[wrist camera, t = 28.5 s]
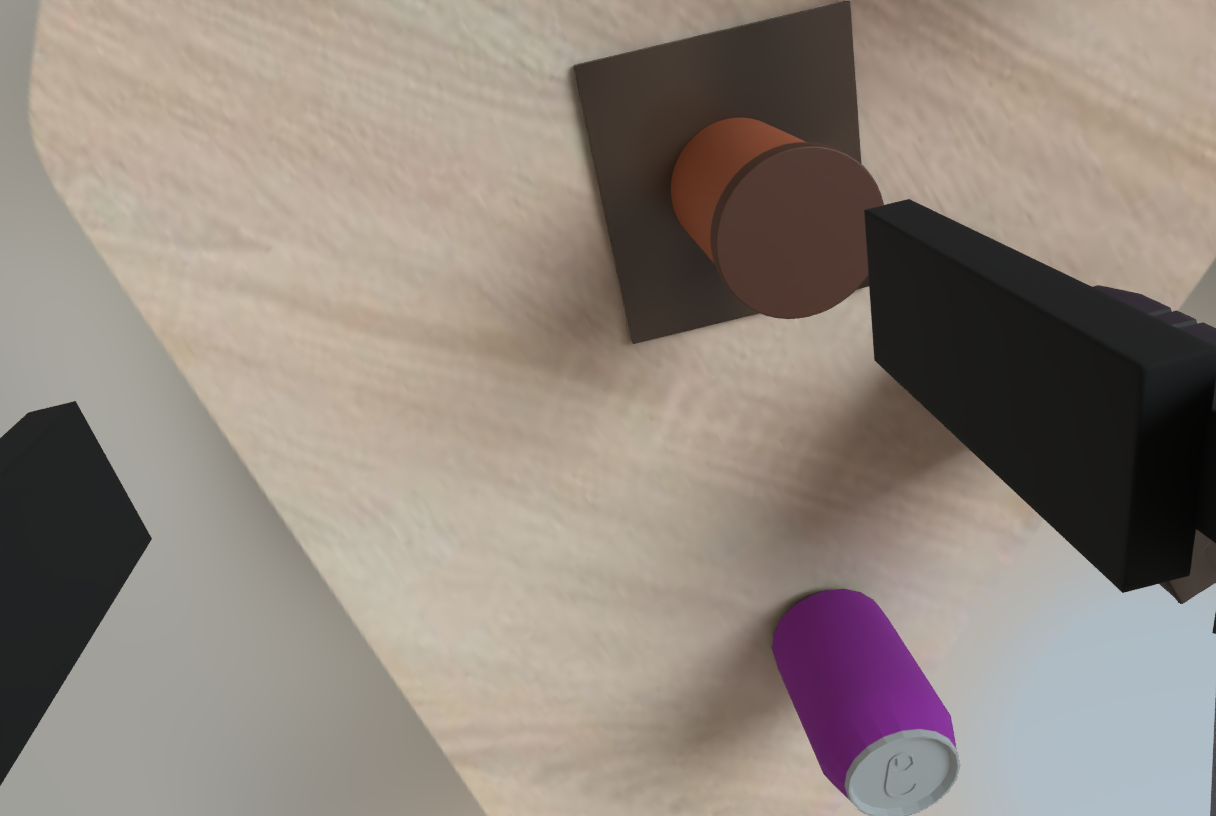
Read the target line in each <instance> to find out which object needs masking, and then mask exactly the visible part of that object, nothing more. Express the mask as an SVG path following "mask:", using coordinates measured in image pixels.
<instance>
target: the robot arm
mask: <svg viewBox="0 0 1216 816" xmlns="http://www.w3.org/2000/svg"><path fill="white" fill-rule="evenodd" d="M864 215H865V230H866V244H867V258H868V273H869V287H870V302H871V316H872V330H873V345H874V359H875V361H876V362H877V363H878V364H879V365H880V366H881V367H882V368H883V369H884V370H885V371H886V372H888V373H889V374H890V375H891V376H892V377H893V378H894V379H895V380H896V381H897V382H898V383H899V384H900V385H901V386H902V387H904V388H905V389H906V390H907V391H908V392H909V393H910V394H911V395H912V396H913V397H914V398H915V399H916V400H917V401H918V402H920V403H921V404H922V405H923V406H924V407H925V408H926V409H927V410H928V411H929V412H930V413H931V414H932V415H933V416H935V417H936V418H937V419H938V420H939V421H940V422H941V423H942V424H943V425H944V426H945V427H946V428H947V429H948V430H949V431H951V432H952V433H953V434H954V435H955V436H956V437H957V438H958V439H959V440H960V441H961V442H962V443H963V444H964V445H965V446H967V447H968V448H969V449H970V450H971V451H972V452H973V453H974V454H975V455H976V456H977V457H978V458H979V459H980V460H981V461H983V462H984V463H985V464H986V465H987V466H988V467H989V468H990V469H991V470H992V471H993V472H994V473H995V474H996V475H998V476H999V477H1000V478H1001V479H1002V480H1003V481H1004V482H1005V483H1006V484H1007V485H1008V486H1009V487H1010V488H1011V489H1012V490H1014V491H1015V492H1016V493H1017V494H1018V495H1019V496H1020V497H1021V498H1022V499H1023V500H1024V501H1025V502H1026V503H1027V504H1028V505H1030V506H1031V507H1032V508H1033V509H1034V510H1035V511H1036V512H1037V513H1038V514H1039V515H1040V516H1041V517H1042V518H1043V519H1044V520H1046V521H1047V522H1048V523H1049V524H1050V525H1051V526H1052V527H1053V528H1054V529H1055V530H1056V531H1057V532H1059V534H1061V535H1062V536H1063V537H1064V538H1065V539H1066V540H1067V541H1068V542H1069V543H1070V544H1071V545H1072V546H1073V547H1074V548H1076V549H1077V550H1078V551H1079V552H1080V553H1081V554H1082V555H1083V556H1084V557H1085V558H1086V559H1087V560H1088V561H1089V562H1090V563H1091V564H1093V565H1094V566H1095V567H1096V568H1097V569H1098V570H1099V571H1100V572H1101V573H1102V574H1103V575H1104V576H1105V577H1106V578H1108V579H1109V580H1110V581H1111V582H1112V583H1113V584H1114V585H1115V586H1116V587H1117V588H1118V589H1119V590H1120V591H1121V592H1122V593H1124V592H1128V591H1132V590H1135V589H1140V588H1143V587H1147V586H1151V585H1155V584H1159V583H1163V582H1167V581H1171V580H1175V579H1179V578H1183V577H1187V576H1190V570H1191V563H1192V555H1193V548H1194V540H1195V533H1196V529H1197V530H1198V531H1200V532H1201V533H1202V534H1204V535H1205V536H1206V537H1208V538H1209V539H1210V540H1212V541H1213V542H1214V543H1216V328H1214V327H1212V326H1209V325H1207V324H1205V323H1199V324H1197V322H1196V319H1194V318H1192V317H1190V316H1188V315H1185V314H1183V313H1181V312H1179V311H1173V312H1172V311H1171V308H1170V307H1168V306H1166V305H1163V304H1161V303H1159V302H1157V301H1155V300H1152V299H1150V298H1148V297H1146V296H1144V295H1141V294H1138V293H1134V292H1129V291H1124V290H1119V289H1114V288H1109V287H1104V286H1099V285H1098V286H1094V287H1091V286H1089V285H1087V284H1085V283H1083V282H1081V281H1079V280H1076V279H1074V278H1072V277H1070V276H1068V275H1066V274H1064V273H1062V272H1060V271H1058V270H1056V269H1054V268H1051V267H1049V266H1047V265H1045V264H1043V263H1041V262H1039V261H1037V260H1035V259H1033V258H1031V257H1029V256H1026V255H1024V254H1022V253H1020V252H1018V251H1016V250H1014V249H1012V248H1010V247H1008V246H1006V245H1004V244H1001V243H999V242H997V241H995V240H993V239H991V238H989V237H987V236H985V235H983V234H981V233H979V232H976V231H974V230H972V229H970V228H968V227H966V226H964V225H962V224H960V223H958V222H956V221H954V220H951V219H949V218H947V217H945V216H943V215H941V214H939V213H937V212H935V211H933V210H931V209H929V208H926V207H924V206H922V205H920V204H918V203H916V202H914V201H912V200H910V199H908V200H903V201H899V202H895V203H891V204H887V205H883V206H879V207H875V208H870V209H866V210H864ZM151 539H152V538H151V536H150V535H149V533H148V531H147V529H146V528H145V526H144V524H143V522H142V520H141V518H140V517H139V515H138V513H137V511H136V510H135V508H134V506H133V504H132V502H131V501H130V499H129V497H128V495H127V493H126V491H125V490H124V488H123V486H122V484H121V482H120V480H119V479H118V477H117V475H116V473H115V471H114V470H113V468H112V466H111V464H110V463H109V461H108V459H107V457H106V455H105V453H104V452H103V450H102V448H101V446H100V444H99V443H98V441H97V439H96V437H95V435H94V434H93V432H92V430H91V428H90V426H89V425H88V423H87V421H86V419H85V417H84V416H83V414H82V412H81V410H80V408H79V407H78V405H77V403H76V401H74V402H70V403H66V404H62V405H58V406H54V407H49V408H46V409H41V410H37V411H33V412H29V413H27V414H26V415H25V416H24V417H23V418H22V419H21V420H20V421H19V422H18V423H16V424H15V425H14V426H13V427H12V428H11V429H10V430H9V431H8V432H7V433H5V434H4V435H3V436H2V437H1V438H0V785H1V784H2V782H3V781H4V778H5V777H6V776H7V774H8V772H9V771H10V769H11V767H12V766H13V764H14V763H15V761H16V759H17V758H18V756H19V754H20V753H21V751H22V750H23V748H24V746H25V745H26V743H27V741H28V740H29V738H30V736H31V735H32V733H33V732H34V730H35V728H36V727H37V725H38V723H39V722H40V720H41V718H42V717H43V715H44V714H45V712H46V710H47V709H48V707H49V706H50V704H51V702H52V701H53V699H54V697H55V696H56V694H57V693H58V691H59V689H60V688H61V686H62V684H63V683H64V681H65V680H66V678H67V676H68V674H69V673H70V671H71V670H72V668H73V666H74V665H75V663H76V661H77V660H78V658H79V657H80V655H81V653H82V652H83V650H84V649H85V647H86V645H87V644H88V642H89V640H90V639H91V637H92V635H93V634H94V632H95V631H96V629H97V627H98V626H99V624H100V622H101V621H102V619H103V618H104V616H105V614H106V612H107V611H108V609H109V608H110V606H111V604H112V603H113V601H114V599H115V598H116V596H117V595H118V593H119V592H120V590H121V588H122V587H123V585H124V583H125V582H126V580H127V579H128V577H129V575H130V574H131V572H132V570H133V569H134V567H135V565H136V564H137V562H138V561H139V559H140V557H141V556H142V554H143V552H144V551H145V549H146V548H147V546H148V544H149V543H150V541H151ZM1213 633H1215V634H1216V614H1215V620H1214V627H1213ZM1210 816H1216V701H1215V722H1214V744H1213V767H1212V790H1211V811H1210Z"/></svg>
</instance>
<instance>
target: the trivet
mask: <svg viewBox="0 0 1216 816" xmlns="http://www.w3.org/2000/svg"><path fill="white" fill-rule="evenodd" d="M574 70H575V75H576V79H577V84H578V89H579V94H580V98H581V103H582V108H583V113H584V117H585V122H586V127H587V132H588V136H589V141H590V146H591V151H592V155H593V160H594V165H595V170H596V174H597V179H598V184H599V189H600V193H601V198H602V203H603V208H604V212H605V217H606V222H607V227H608V231H609V236H610V241H611V246H612V250H613V255H614V260H615V265H616V269H617V274H618V279H619V284H620V288H621V293H622V298H623V303H624V307H625V312H626V317H627V322H628V326H629V331H630V336H631V341H632V343H633V344H635V343H639V342H643V341H647V340H651V339H655V338H659V337H664V336H668V335H672V334H676V333H680V332H684V331H688V330H692V329H696V328H700V327H704V326H709V325H713V324H717V323H721V322H725V321H729V320H733V319H737V318H741V317H745V316H749V315H754V314H758V312H756V311H754V310H752V309H751V308H749V307H747V306H746V305H745V304H743V303H742V302H741V301H740V300H739V299H738V298H737V297H736V296H735V295H734V294H733V293H732V292H731V291H730V290H729V288H728V287H727V286H726V284H725V283H724V282H723V280H722V279H721V277H720V275H719V273H718V271H717V269H716V266H715V264H714V263H713V262H712V261H711V259H710V258H709V257H708V256H707V255H706V254H705V252H704V251H703V250H702V249H701V248H700V247H699V245H698V244H697V243H696V242H695V241H694V240H693V238H692V237H691V236H690V235H689V234H688V233H687V231H686V230H685V229H684V228H683V226H682V225H681V224H680V222H679V220H678V218H677V216H676V214H675V211H674V208H673V204H672V199H671V180H672V174H673V170H674V167H675V164H676V162H677V159H678V157H679V155H680V154H681V152H682V150H683V149H684V147H685V146H686V145H687V143H688V142H689V141H690V140H691V139H692V138H693V137H694V136H695V135H696V134H697V133H699V132H700V131H701V130H703V129H704V128H706V127H707V126H709V125H711V124H713V123H715V122H718V121H721V120H724V119H729V118H741V117H743V118H751V119H755V120H759V121H761V122H764V123H766V124H768V125H770V126H773V127H775V128H777V129H779V130H781V131H784V132H786V133H788V134H790V135H792V136H795V137H797V138H799V139H801V140H803V141H806V142H810V143H819V144H822V145H826V146H830V147H832V148H834V149H836V150H839V151H841V152H843V153H846V154H848V155H849V156H851V157H852V158H854V159H856V160H857V161H858V162H859V163H860V164H861V153H860V139H859V124H858V110H857V95H856V81H855V67H854V52H853V38H852V23H851V9H850V1H843V2H839V3H835V4H830V5H826V6H822V7H818V8H813V9H809V10H805V11H801V12H797V13H792V14H788V15H784V16H780V17H775V18H771V19H767V20H763V21H758V22H754V23H750V24H746V25H741V26H737V27H733V28H729V29H725V30H720V31H716V32H712V33H708V34H703V35H699V36H695V37H691V38H686V39H682V40H678V41H674V42H669V43H665V44H661V45H657V46H653V47H648V48H644V49H640V50H636V51H631V52H627V53H623V54H619V55H614V56H610V57H606V58H602V59H597V60H593V61H589V62H585V63H580V64H576V65H574ZM868 286H869V274H868V276H867V277H866V279H865V280H864V281H863V282H862V284H861V285H860V286H859V287H858V288H857V289H860V288H864V287H868Z"/></svg>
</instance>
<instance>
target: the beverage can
mask: <svg viewBox="0 0 1216 816" xmlns="http://www.w3.org/2000/svg"><path fill="white" fill-rule="evenodd" d="M772 650H773V654H774V657H775V660H776V663H777V667H778V670H779V672H780V674H781V677H782V679H783V681H784V684H785V686H786V688H787V691H788V693H789V695H790V698H791V700H792V702H793V704H794V707H795V709H796V711H797V714H798V716H799V718H800V721H801V723H802V725H803V727H804V730H805V732H806V734H807V737H808V739H809V741H810V744H811V746H812V748H813V751H814V753H815V755H816V757H817V760H818V762H819V764H820V767H821V769H822V771H823V774H824V775H825V776H826V777H827V778H828V779H829V780H830V781H831V782H832V784H833V785H834V786H835V787H836V788H838V789H839V790H840V791H841V792H842V793H843V794H844V795H845V796H846V797H847V798H848V799H849V800H850V801H851V802H852V803H853V804H854V805H855V806H856V807H857V809H858V810H859V811H860V812H862V813H865V814H867V815H869V816H909V815H912V814H914V813H918V812H920V811H923V810H924V809H926V808H928V807H930V806H931V805H933V804H935V803H936V802H938V801H939V800H940V799H941V798H942V797H943V796H944V795H945V794H946V793H948V792H949V790H950V789H951V787H952V786H953V784H954V783H955V781H956V780H957V777H958V773H959V769H960V762H959V757H958V753H957V749H956V743H955V737H954V731H953V726H952V721H951V716H950V714H949V712H948V711H947V709H946V708H945V706H944V705H943V703H942V701H941V700H940V698H939V697H938V695H937V694H936V692H935V691H934V689H933V688H932V686H931V684H930V683H929V681H928V680H927V678H926V677H925V675H924V674H923V672H922V670H921V669H920V667H919V666H918V664H917V663H916V661H915V660H914V658H913V657H912V655H911V653H910V652H909V650H908V649H907V647H906V646H905V644H904V643H903V641H902V640H901V638H900V636H899V635H898V633H897V632H896V630H895V629H894V627H893V626H892V624H891V622H890V621H889V619H888V618H887V616H886V615H885V614H884V613H883V611H882V610H881V609H880V607H879V606H878V605H877V604H876V602H875V601H874V600H873V599H871V598H869V597H868V596H866V595H864V594H863V593H861V592H857V591H852V590H847V589H838V590H826V591H823V592H820V593H817V594H814V595H811V596H808V597H806V598H805V599H803V600H802V601H800V602H799V603H797V604H795V605H794V606H793V607H792V608H791V609H790V610H789V611H788V612H787V613H786V614H785V615H784V616H783V617H782V618H781V620H780V622H779V624H778V626H777V628H776V630H775V632H774V634H773V644H772Z"/></svg>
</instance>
